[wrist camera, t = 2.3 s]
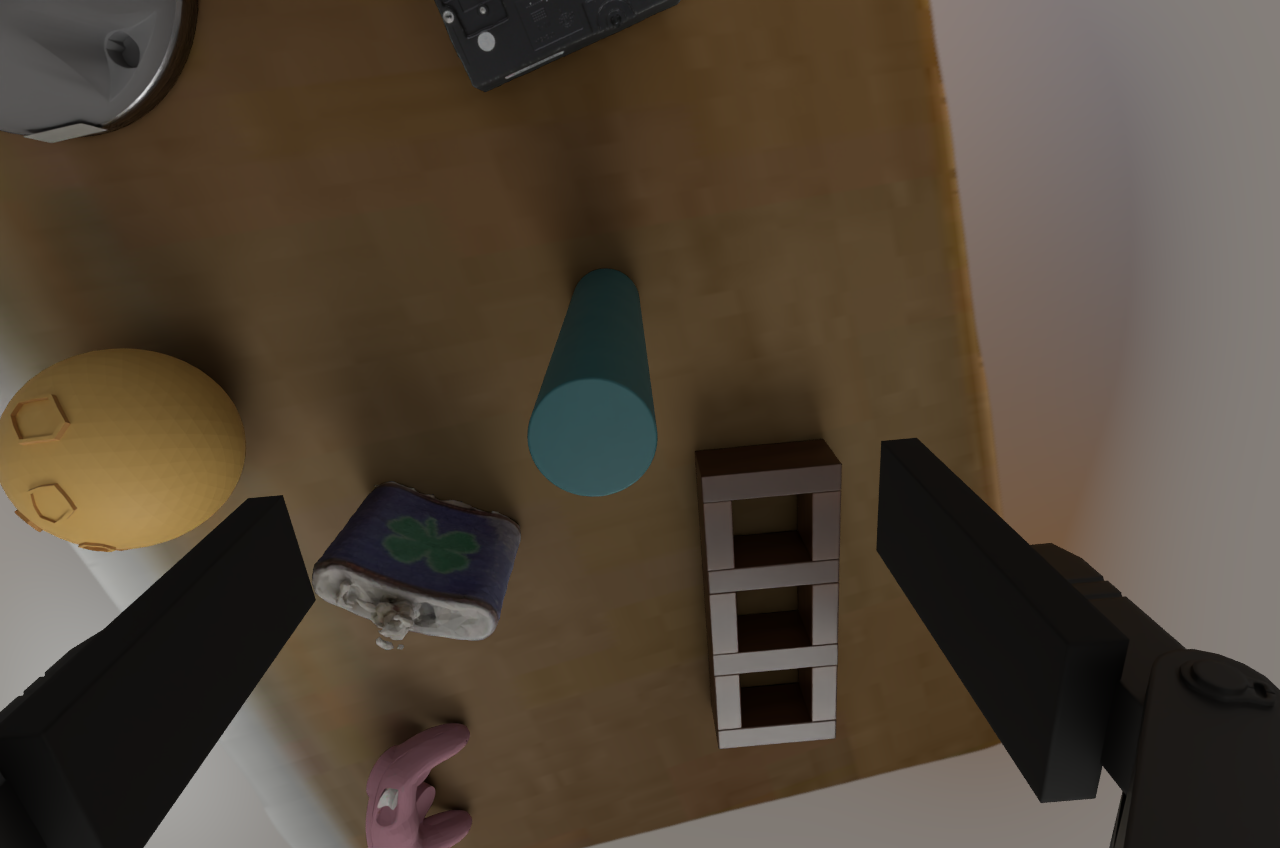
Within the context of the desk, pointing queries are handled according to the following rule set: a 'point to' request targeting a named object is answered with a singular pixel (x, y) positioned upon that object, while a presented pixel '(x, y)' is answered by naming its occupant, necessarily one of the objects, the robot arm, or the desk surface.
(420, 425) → the desk surface
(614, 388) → the dowel
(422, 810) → the video game controller
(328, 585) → the flask
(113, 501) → the stress ball
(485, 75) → the disk drive
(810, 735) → the pen block
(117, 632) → the robot arm
